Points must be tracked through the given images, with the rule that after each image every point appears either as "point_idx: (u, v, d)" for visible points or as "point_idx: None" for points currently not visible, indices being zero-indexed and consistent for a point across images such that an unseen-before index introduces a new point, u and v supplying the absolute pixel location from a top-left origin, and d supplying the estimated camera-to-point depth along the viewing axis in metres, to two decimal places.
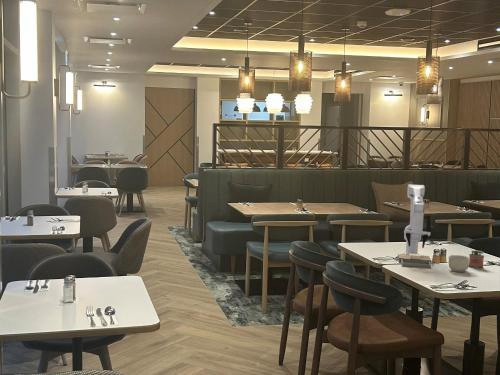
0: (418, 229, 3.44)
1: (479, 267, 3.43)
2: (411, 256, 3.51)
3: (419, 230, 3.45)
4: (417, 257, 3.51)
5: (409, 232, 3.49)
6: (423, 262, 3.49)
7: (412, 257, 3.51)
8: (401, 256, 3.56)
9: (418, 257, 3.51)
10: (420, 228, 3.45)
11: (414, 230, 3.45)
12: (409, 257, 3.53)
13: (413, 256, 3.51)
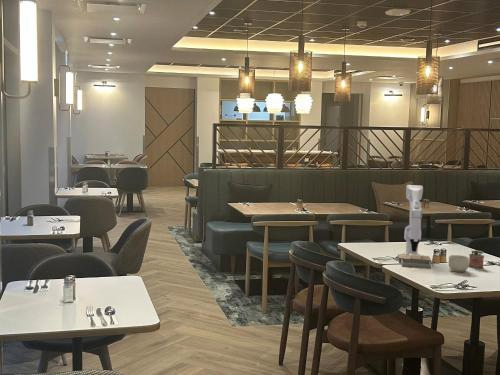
0: (410, 233, 3.58)
1: (479, 267, 3.43)
2: (411, 256, 3.51)
3: (411, 234, 3.58)
4: (417, 257, 3.51)
5: None
6: (423, 262, 3.49)
7: (412, 257, 3.51)
8: (401, 256, 3.56)
9: (418, 257, 3.51)
10: (412, 233, 3.57)
11: None
12: (409, 257, 3.53)
13: (413, 256, 3.51)
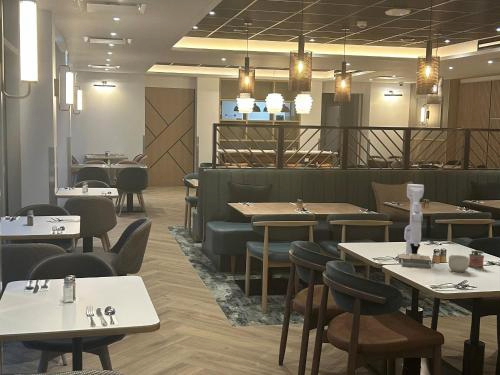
0: (410, 238, 3.55)
1: (479, 267, 3.43)
2: (411, 256, 3.51)
3: (411, 239, 3.55)
4: (417, 257, 3.51)
5: None
6: (423, 262, 3.49)
7: (412, 257, 3.51)
8: (401, 256, 3.56)
9: (418, 257, 3.51)
10: (412, 237, 3.54)
11: None
12: (409, 257, 3.53)
13: (413, 256, 3.51)
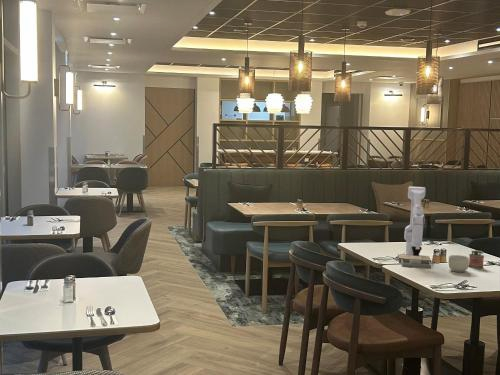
0: (412, 240, 3.45)
1: (479, 267, 3.43)
2: None
3: (412, 242, 3.45)
4: None
5: None
6: (423, 262, 3.49)
7: None
8: (401, 256, 3.56)
9: None
10: (413, 240, 3.44)
11: None
12: None
13: None
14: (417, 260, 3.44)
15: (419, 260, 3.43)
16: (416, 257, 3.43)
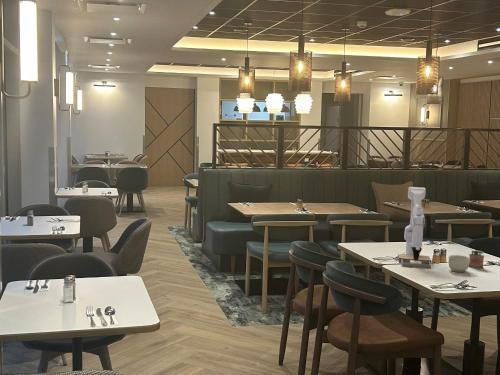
0: (412, 241, 3.45)
1: (479, 267, 3.43)
2: None
3: (413, 242, 3.44)
4: None
5: None
6: (423, 262, 3.49)
7: None
8: (401, 256, 3.56)
9: None
10: (413, 240, 3.43)
11: None
12: (410, 261, 3.45)
13: None
14: None
15: None
16: None
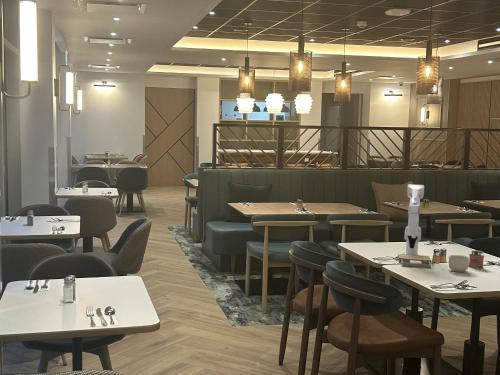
0: (408, 229, 3.48)
1: (479, 267, 3.43)
2: None
3: (408, 231, 3.48)
4: None
5: None
6: (423, 262, 3.49)
7: None
8: (401, 256, 3.56)
9: None
10: (409, 229, 3.47)
11: None
12: (410, 261, 3.45)
13: None
14: None
15: None
16: None
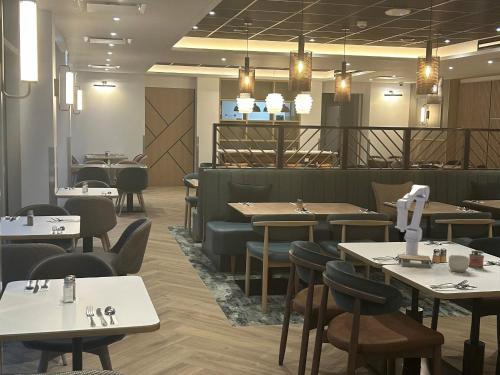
0: (397, 224, 3.58)
1: (479, 267, 3.43)
2: None
3: (398, 225, 3.58)
4: None
5: None
6: (423, 262, 3.49)
7: None
8: (401, 256, 3.56)
9: None
10: (398, 223, 3.57)
11: None
12: (410, 261, 3.45)
13: None
14: None
15: None
16: None
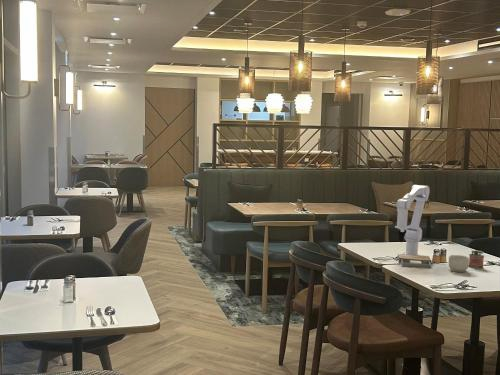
0: (397, 224, 3.58)
1: (479, 267, 3.43)
2: None
3: (398, 225, 3.58)
4: None
5: None
6: (423, 262, 3.49)
7: None
8: (401, 256, 3.56)
9: None
10: (398, 223, 3.57)
11: None
12: (410, 261, 3.45)
13: None
14: None
15: None
16: None
